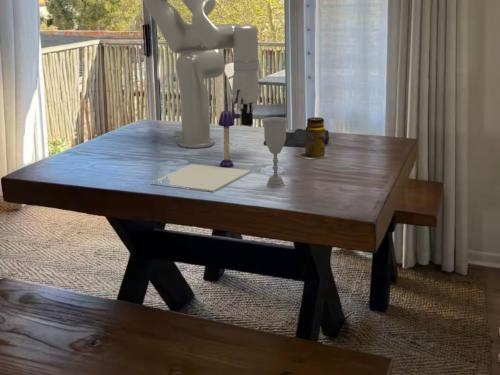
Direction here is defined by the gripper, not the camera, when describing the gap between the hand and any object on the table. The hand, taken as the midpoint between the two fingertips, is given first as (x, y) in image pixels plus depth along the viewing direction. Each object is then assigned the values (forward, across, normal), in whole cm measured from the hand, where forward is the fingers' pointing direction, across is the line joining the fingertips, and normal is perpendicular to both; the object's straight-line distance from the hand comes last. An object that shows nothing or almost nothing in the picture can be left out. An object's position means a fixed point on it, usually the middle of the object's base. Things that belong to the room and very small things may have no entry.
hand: (247, 124), depth 212 cm
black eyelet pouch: (+11, -25, +7) cm, 28 cm away
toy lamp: (+10, +14, 0) cm, 17 cm away
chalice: (+10, +27, +22) cm, 36 cm away
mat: (+10, +29, 0) cm, 30 cm away
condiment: (+10, -8, +19) cm, 23 cm away
